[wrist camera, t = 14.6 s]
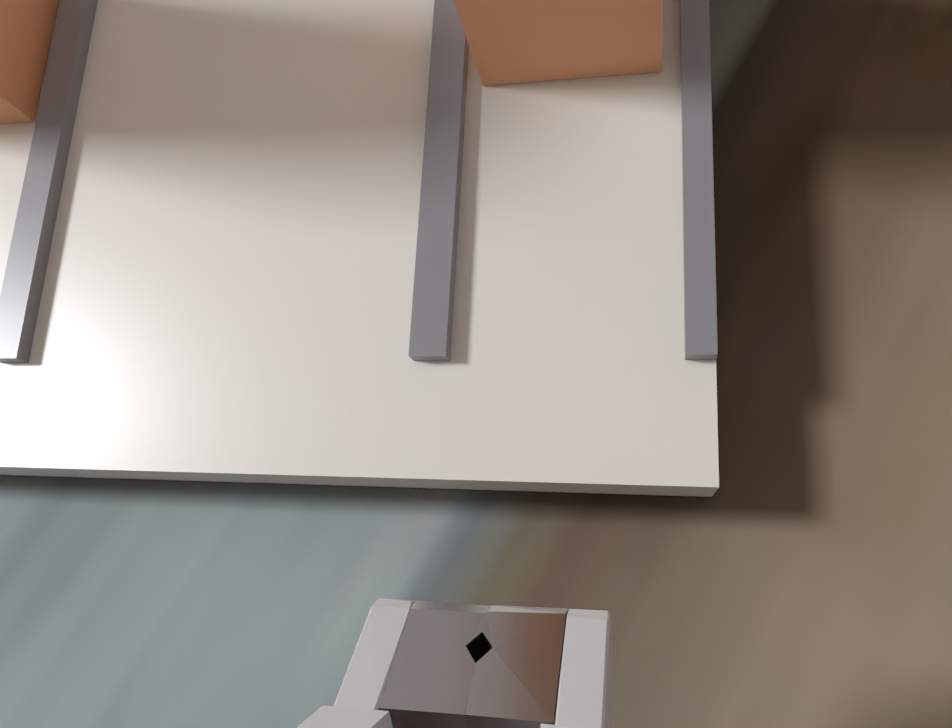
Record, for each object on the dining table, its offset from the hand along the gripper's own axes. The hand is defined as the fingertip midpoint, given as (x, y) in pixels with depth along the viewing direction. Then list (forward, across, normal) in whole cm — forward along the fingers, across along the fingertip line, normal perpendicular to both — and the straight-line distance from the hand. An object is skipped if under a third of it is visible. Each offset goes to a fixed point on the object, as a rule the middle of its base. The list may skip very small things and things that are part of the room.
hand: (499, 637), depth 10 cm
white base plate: (+13, +8, -2) cm, 15 cm away
